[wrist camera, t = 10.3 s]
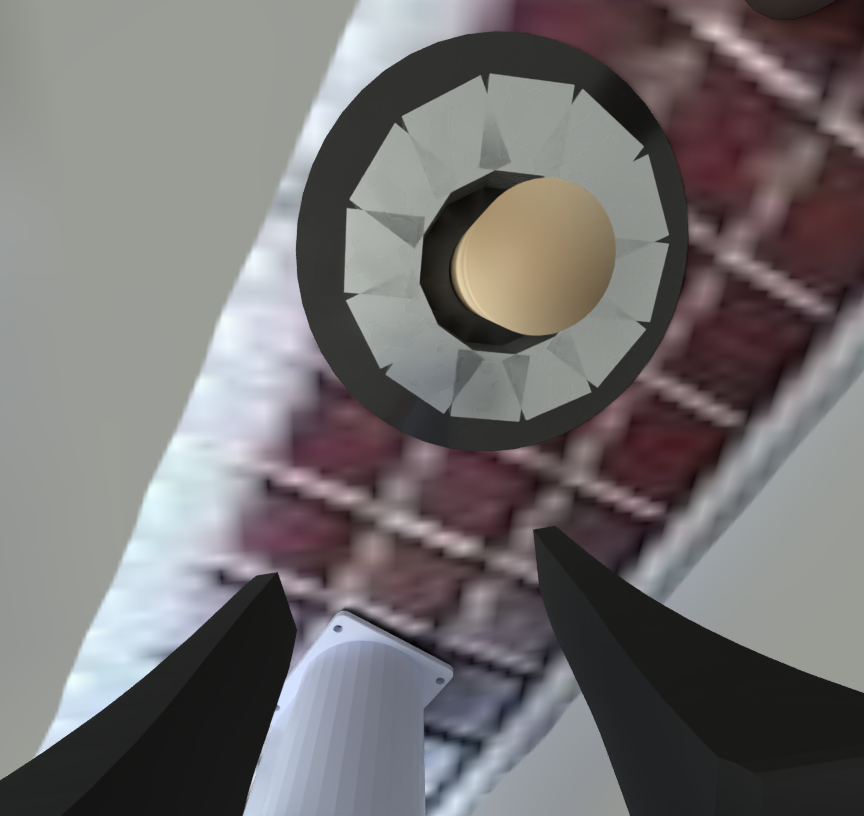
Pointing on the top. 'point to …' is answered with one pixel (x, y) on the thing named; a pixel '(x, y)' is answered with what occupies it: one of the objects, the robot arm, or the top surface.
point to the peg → (536, 258)
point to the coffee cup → (788, 7)
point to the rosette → (457, 211)
